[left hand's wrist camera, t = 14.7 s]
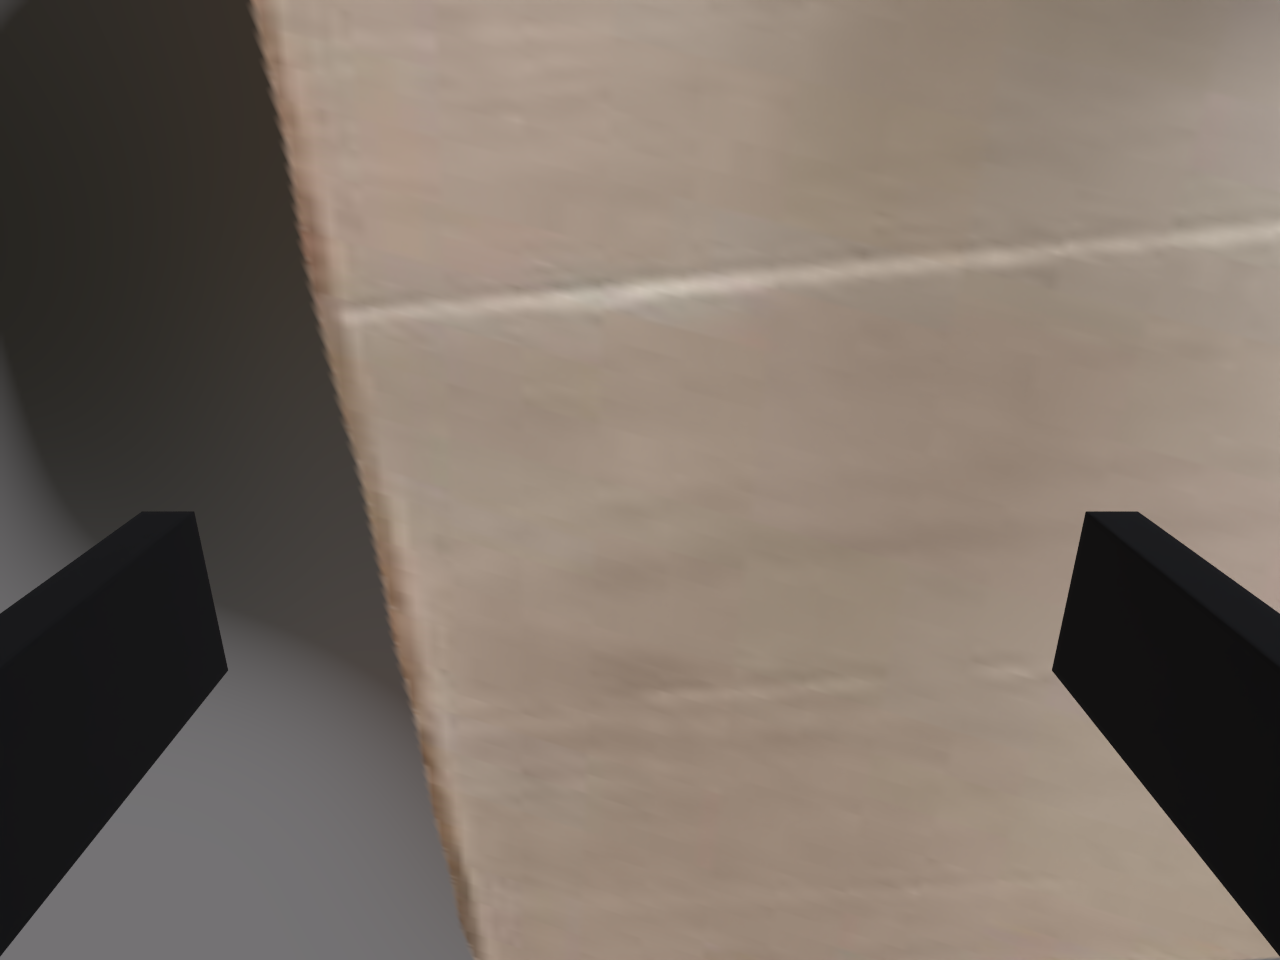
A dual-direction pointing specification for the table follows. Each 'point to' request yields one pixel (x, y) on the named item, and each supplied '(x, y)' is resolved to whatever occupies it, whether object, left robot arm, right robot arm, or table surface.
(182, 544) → the left robot arm
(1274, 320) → the table surface
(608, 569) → the table surface
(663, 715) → the table surface
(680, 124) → the table surface
